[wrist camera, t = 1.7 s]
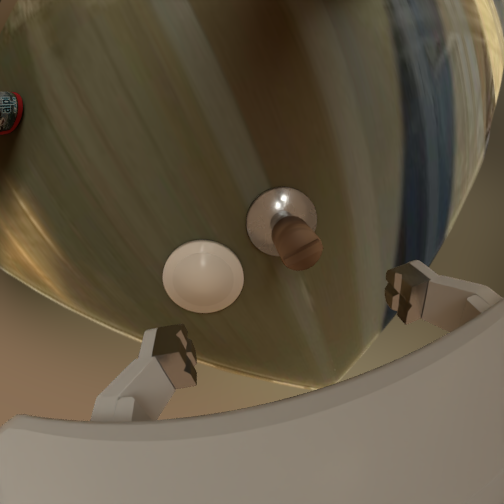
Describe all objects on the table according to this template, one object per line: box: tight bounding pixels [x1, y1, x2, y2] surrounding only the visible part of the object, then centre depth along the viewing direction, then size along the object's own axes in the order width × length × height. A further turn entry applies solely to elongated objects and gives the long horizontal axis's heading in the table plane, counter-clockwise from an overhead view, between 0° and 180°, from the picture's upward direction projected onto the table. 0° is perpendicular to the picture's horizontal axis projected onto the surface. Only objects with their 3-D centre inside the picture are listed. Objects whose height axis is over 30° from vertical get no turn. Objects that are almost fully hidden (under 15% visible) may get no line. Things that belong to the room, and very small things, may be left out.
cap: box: [271, 216, 323, 271], centre depth 32 cm, size 5×5×6 cm
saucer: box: [163, 239, 244, 313], centre depth 40 cm, size 12×12×1 cm
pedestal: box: [246, 186, 317, 256], centre depth 37 cm, size 10×10×5 cm
